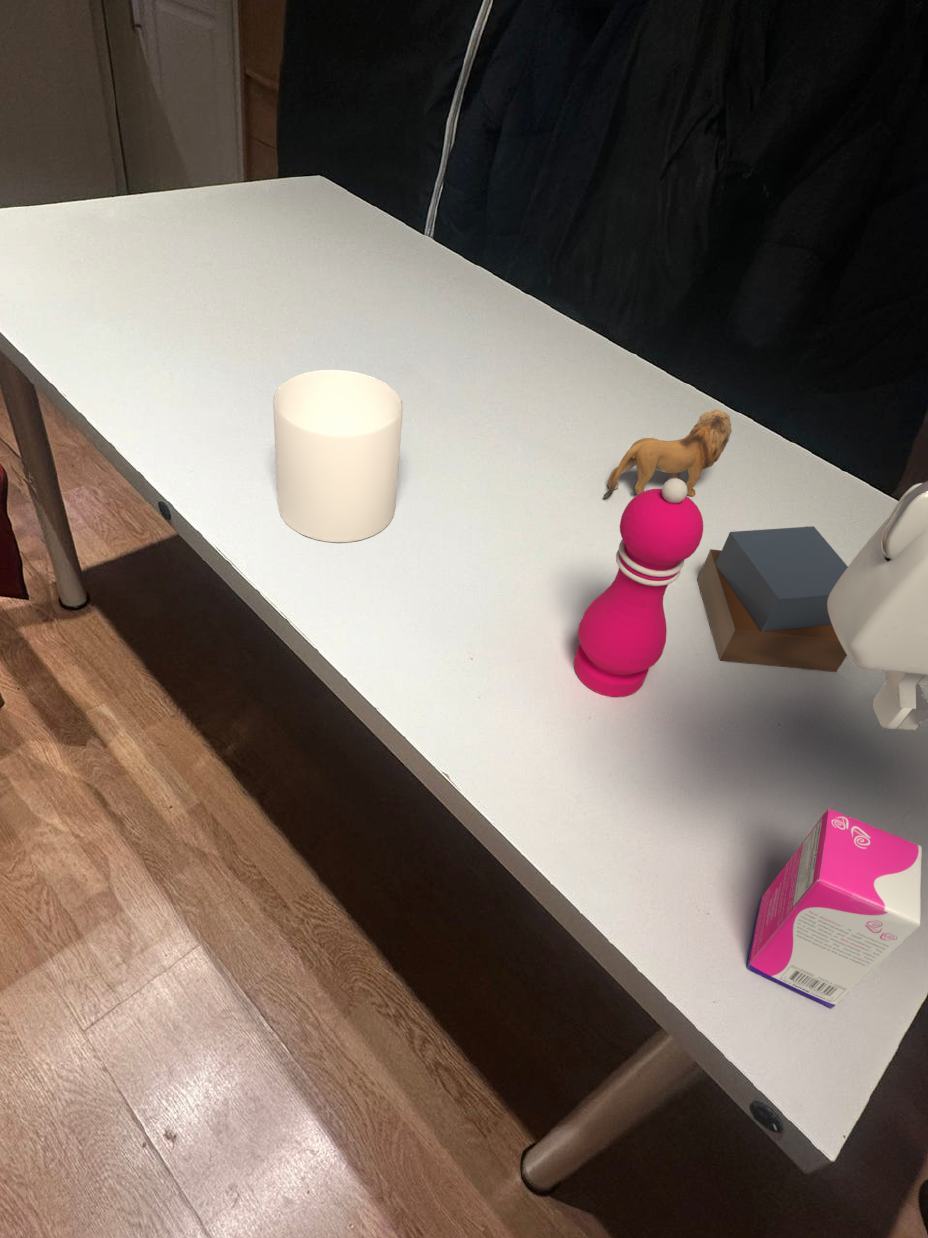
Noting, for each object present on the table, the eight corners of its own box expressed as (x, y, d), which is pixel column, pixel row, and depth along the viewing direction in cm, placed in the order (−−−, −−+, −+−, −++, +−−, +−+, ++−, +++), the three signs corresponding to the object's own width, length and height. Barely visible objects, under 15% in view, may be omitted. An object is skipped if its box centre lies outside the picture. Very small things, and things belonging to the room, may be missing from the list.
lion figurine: (692, 465, 97) (717, 397, 91) (721, 491, 94) (749, 422, 88) (590, 488, 91) (610, 417, 85) (618, 516, 88) (640, 444, 82)
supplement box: (841, 932, 56) (927, 845, 49) (832, 1011, 52) (924, 931, 44) (758, 894, 58) (829, 804, 50) (743, 969, 54) (817, 884, 46)
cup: (298, 553, 77) (295, 444, 69) (263, 482, 85) (257, 376, 76) (412, 530, 82) (423, 426, 74) (370, 465, 89) (376, 363, 81)
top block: (796, 558, 80) (814, 525, 77) (848, 623, 74) (868, 590, 71) (714, 564, 78) (729, 531, 75) (761, 632, 71) (778, 599, 69)
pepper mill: (558, 684, 70) (618, 492, 56) (579, 630, 75) (638, 441, 61) (641, 713, 68) (722, 524, 55) (656, 656, 73) (734, 469, 60)
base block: (803, 591, 83) (819, 560, 80) (836, 672, 75) (856, 642, 72) (697, 579, 82) (710, 548, 79) (719, 660, 74) (735, 629, 71)
